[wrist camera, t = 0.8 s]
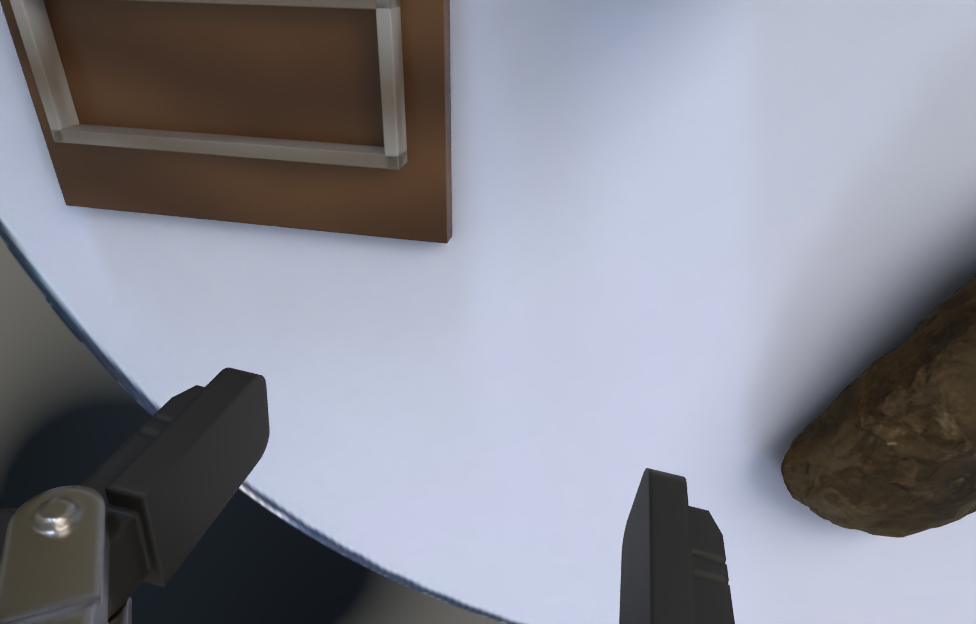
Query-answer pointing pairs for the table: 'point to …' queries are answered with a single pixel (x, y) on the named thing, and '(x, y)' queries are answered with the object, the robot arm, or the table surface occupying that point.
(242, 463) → the robot arm
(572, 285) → the table surface
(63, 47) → the mount board
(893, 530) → the stone
